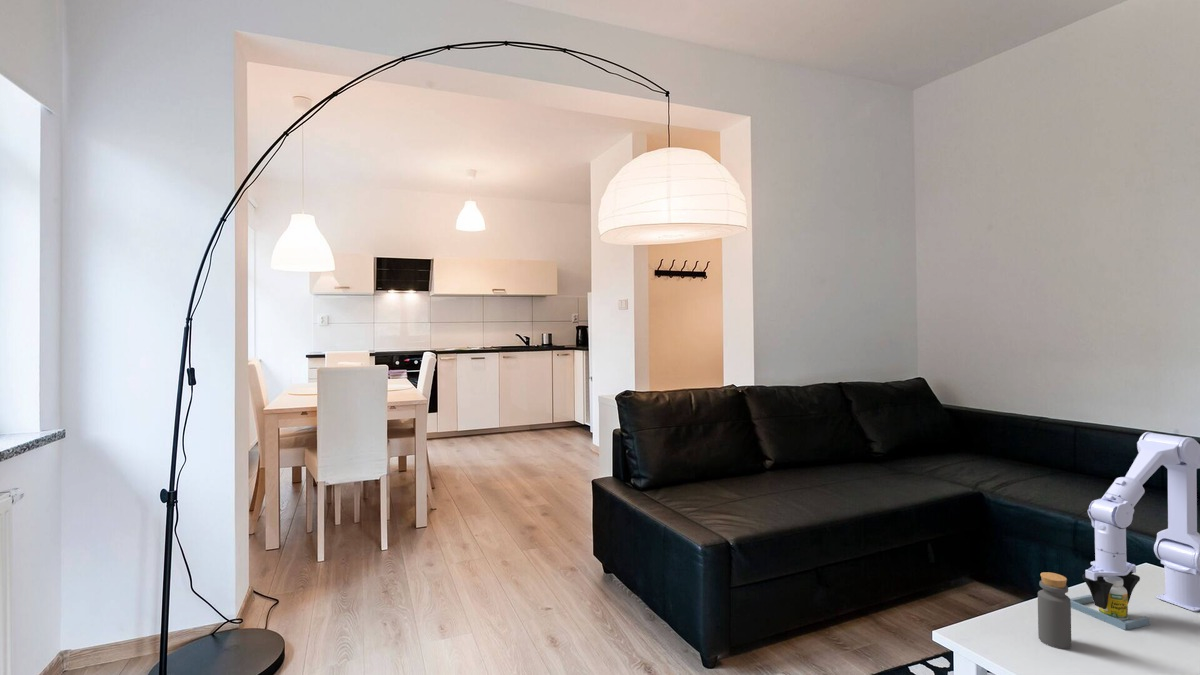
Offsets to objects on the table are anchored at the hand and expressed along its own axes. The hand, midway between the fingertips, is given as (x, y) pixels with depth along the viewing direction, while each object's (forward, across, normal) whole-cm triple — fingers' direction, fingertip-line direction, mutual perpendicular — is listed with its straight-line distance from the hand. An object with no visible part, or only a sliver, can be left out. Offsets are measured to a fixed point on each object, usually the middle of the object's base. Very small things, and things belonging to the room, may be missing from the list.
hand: (1111, 604), depth 137 cm
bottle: (+3, +25, +4) cm, 26 cm away
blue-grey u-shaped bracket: (+3, 0, -1) cm, 3 cm away
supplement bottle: (+3, 0, 0) cm, 3 cm away
